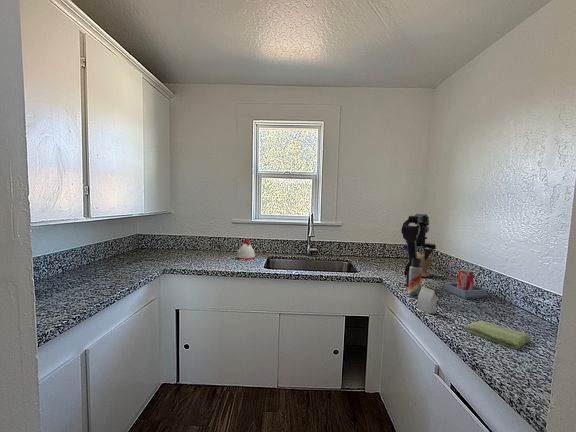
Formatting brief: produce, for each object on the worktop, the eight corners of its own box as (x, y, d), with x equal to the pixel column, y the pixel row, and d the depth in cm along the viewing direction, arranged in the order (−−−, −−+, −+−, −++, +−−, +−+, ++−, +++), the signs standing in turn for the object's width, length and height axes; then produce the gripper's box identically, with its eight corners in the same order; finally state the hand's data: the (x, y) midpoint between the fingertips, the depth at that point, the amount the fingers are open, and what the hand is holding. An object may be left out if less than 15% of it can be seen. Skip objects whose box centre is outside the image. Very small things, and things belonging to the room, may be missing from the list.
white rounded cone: (248, 255, 240) (249, 237, 239) (258, 258, 230) (258, 240, 229) (233, 257, 232) (234, 239, 231) (243, 261, 221) (243, 241, 220)
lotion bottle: (413, 298, 147) (415, 259, 146) (405, 294, 153) (407, 257, 151) (422, 297, 149) (424, 258, 148) (414, 294, 154) (417, 256, 153)
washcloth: (478, 324, 120) (478, 316, 119) (532, 343, 105) (532, 334, 105) (462, 331, 112) (462, 323, 112) (517, 353, 98) (518, 343, 98)
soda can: (455, 291, 157) (456, 269, 156) (459, 289, 161) (460, 267, 161) (470, 295, 152) (471, 272, 151) (473, 292, 156) (475, 270, 156)
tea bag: (430, 313, 128) (431, 291, 128) (417, 308, 134) (418, 286, 134) (435, 312, 130) (437, 290, 129) (423, 307, 136) (424, 286, 135)
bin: (464, 299, 148) (465, 291, 148) (443, 290, 162) (443, 283, 161) (486, 297, 152) (487, 289, 152) (463, 288, 165) (464, 282, 165)
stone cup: (434, 277, 189) (436, 254, 188) (420, 278, 185) (421, 255, 184) (416, 271, 203) (418, 250, 202) (403, 272, 199) (404, 250, 198)
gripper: (424, 233, 186) (422, 257, 187) (398, 233, 181) (397, 258, 182) (437, 235, 175) (435, 261, 176) (410, 235, 170) (409, 262, 171)
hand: (418, 260), depth 176 cm, fingers open, 9 cm apart
